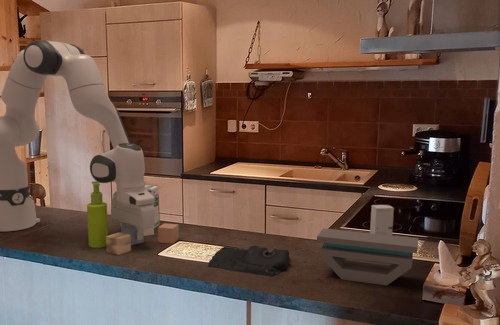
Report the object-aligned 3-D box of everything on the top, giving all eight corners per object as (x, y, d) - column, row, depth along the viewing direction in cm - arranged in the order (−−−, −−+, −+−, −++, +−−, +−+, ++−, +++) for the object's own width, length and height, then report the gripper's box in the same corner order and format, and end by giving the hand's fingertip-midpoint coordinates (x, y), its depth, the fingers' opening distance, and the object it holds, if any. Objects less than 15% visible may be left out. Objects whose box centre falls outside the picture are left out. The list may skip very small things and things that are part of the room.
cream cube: (135, 232, 170) (135, 218, 169) (150, 231, 172) (149, 217, 171) (139, 236, 166) (138, 222, 165) (153, 234, 168) (153, 220, 167)
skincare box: (374, 245, 158) (375, 208, 156) (369, 241, 162) (370, 204, 160) (392, 244, 158) (394, 207, 157) (387, 240, 163) (388, 204, 161)
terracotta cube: (158, 242, 160) (157, 227, 159) (164, 238, 164) (164, 223, 164) (172, 243, 158) (172, 228, 158) (178, 239, 163) (178, 224, 162)
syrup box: (154, 229, 174) (153, 188, 172) (138, 228, 175) (137, 187, 173) (160, 224, 179) (159, 185, 177) (144, 223, 181) (143, 184, 178)
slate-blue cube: (121, 242, 160) (121, 227, 159) (134, 238, 163) (134, 224, 162) (130, 245, 156) (129, 230, 156) (143, 242, 160) (143, 227, 159)
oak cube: (106, 252, 150) (106, 236, 149) (119, 247, 154) (118, 232, 153) (118, 255, 147) (118, 239, 146) (130, 250, 151) (130, 234, 151)
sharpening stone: (316, 275, 132) (317, 236, 131) (322, 265, 139) (323, 228, 138) (414, 289, 124) (417, 247, 122) (416, 278, 131) (418, 238, 129)
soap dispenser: (106, 240, 161) (104, 179, 158) (109, 246, 155) (107, 183, 152) (87, 242, 159) (85, 180, 156) (89, 248, 153) (86, 184, 150)
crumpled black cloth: (225, 251, 152) (225, 236, 152) (294, 260, 145) (295, 245, 144) (203, 268, 138) (203, 251, 138) (278, 279, 130) (279, 262, 130)
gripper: (105, 191, 162) (106, 232, 164) (140, 201, 148) (141, 246, 150) (122, 188, 167) (123, 228, 169) (158, 198, 153) (159, 241, 155)
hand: (132, 237), depth 159 cm, fingers open, 6 cm apart
